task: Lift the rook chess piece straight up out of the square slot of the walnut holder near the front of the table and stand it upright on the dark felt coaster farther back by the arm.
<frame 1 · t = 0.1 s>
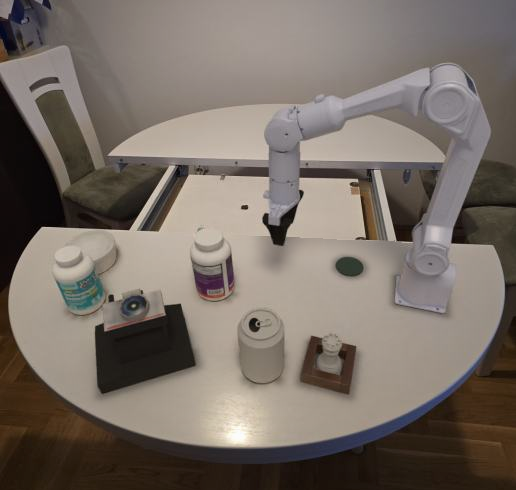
hand: (283, 233, 83), 10 cm above the table, tool pointing down, fingers open, 7 cm apart
rook chess piece: (328, 368, 70), resting in holder
can: (262, 367, 70), on the table
holder: (328, 367, 70), on the table
pill bottle: (88, 303, 83), on the table
coaster: (349, 267, 89), on the table
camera: (145, 346, 74), on the table
ramekin: (95, 263, 93), on the table
pill bottle 2: (215, 289, 85), on the table
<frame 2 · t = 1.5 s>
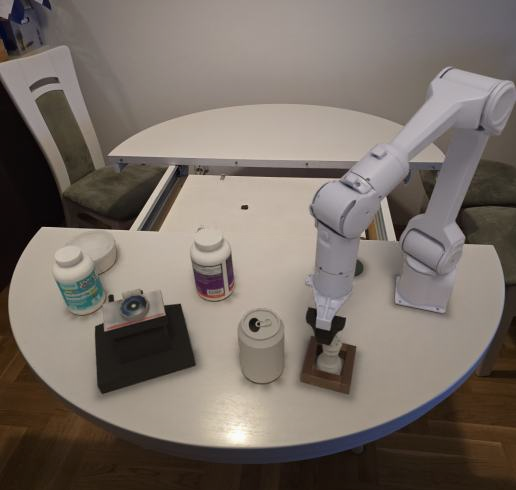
hand: (328, 323, 65), 9 cm above the table, tool pointing down, fingers open, 7 cm apart
nothing on the table moved.
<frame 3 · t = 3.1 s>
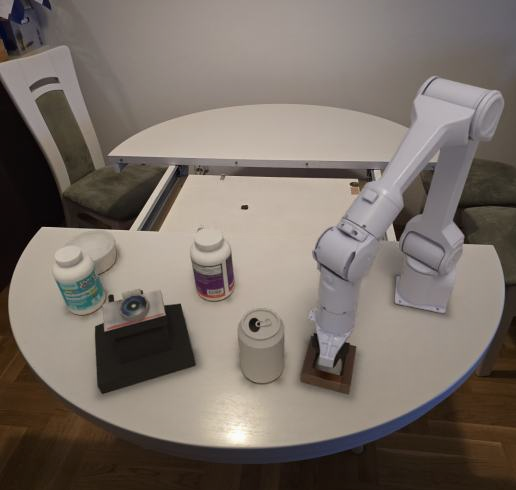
hand: (330, 355, 67), 4 cm above the table, tool pointing down, fingers closed on rook chess piece, 3 cm apart
rook chess piece: (328, 368, 70), resting in holder, touching gripper
everything else where it was.
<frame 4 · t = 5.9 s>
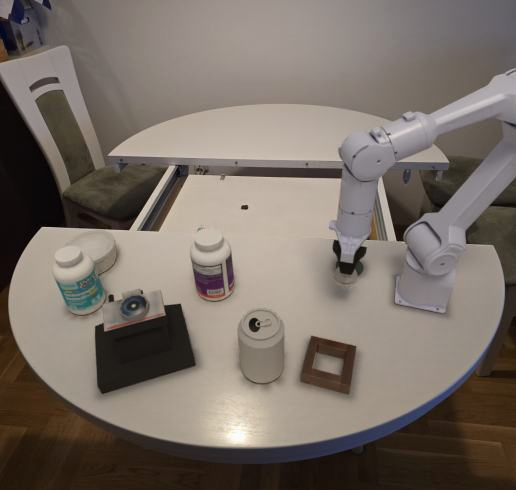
hand: (347, 266, 74), 10 cm above the table, tool pointing down, fingers closed on rook chess piece, 3 cm apart
rook chess piece: (345, 280, 77), point 7 cm above the table, touching gripper
everything else where it was.
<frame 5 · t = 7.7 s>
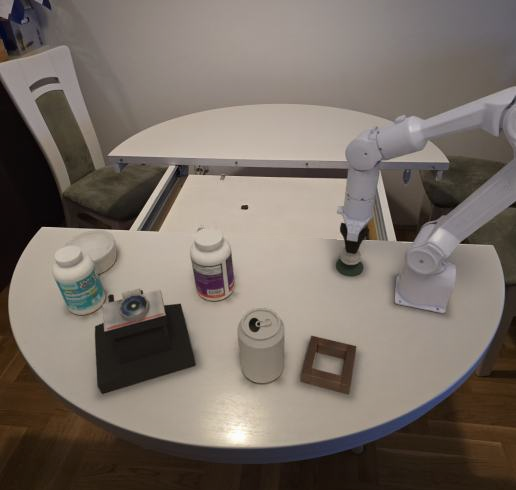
hand: (352, 246, 86), 6 cm above the table, tool pointing down, fingers closed on rook chess piece, 3 cm apart
rook chess piece: (349, 259, 88), point 2 cm above the table, touching gripper
everything else where it was.
when the fingers open (4 cm above the table, at t = 8.6 s): rook chess piece stays where it is, resting on coaster.
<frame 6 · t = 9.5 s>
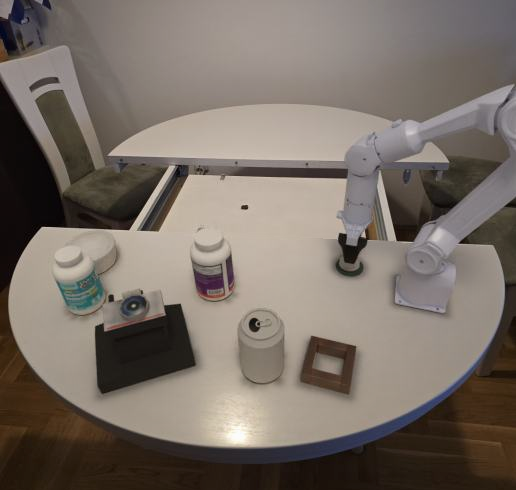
hand: (351, 250, 86), 5 cm above the table, tool pointing down, fingers open, 7 cm apart
rook chess piece: (349, 266, 89), resting on coaster
everything else where it was.
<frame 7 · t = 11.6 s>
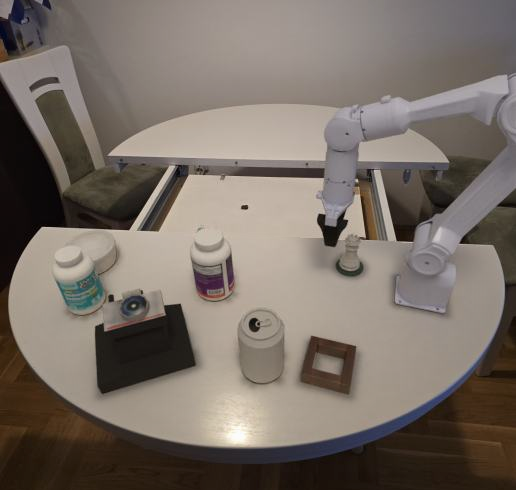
hand: (333, 233, 82), 10 cm above the table, tool pointing down, fingers open, 7 cm apart
nothing on the table moved.
at the end: rook chess piece 0.1 cm off-centre on the coaster, point 0.2 cm above the coaster's base; rook chess piece tilted 0° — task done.
